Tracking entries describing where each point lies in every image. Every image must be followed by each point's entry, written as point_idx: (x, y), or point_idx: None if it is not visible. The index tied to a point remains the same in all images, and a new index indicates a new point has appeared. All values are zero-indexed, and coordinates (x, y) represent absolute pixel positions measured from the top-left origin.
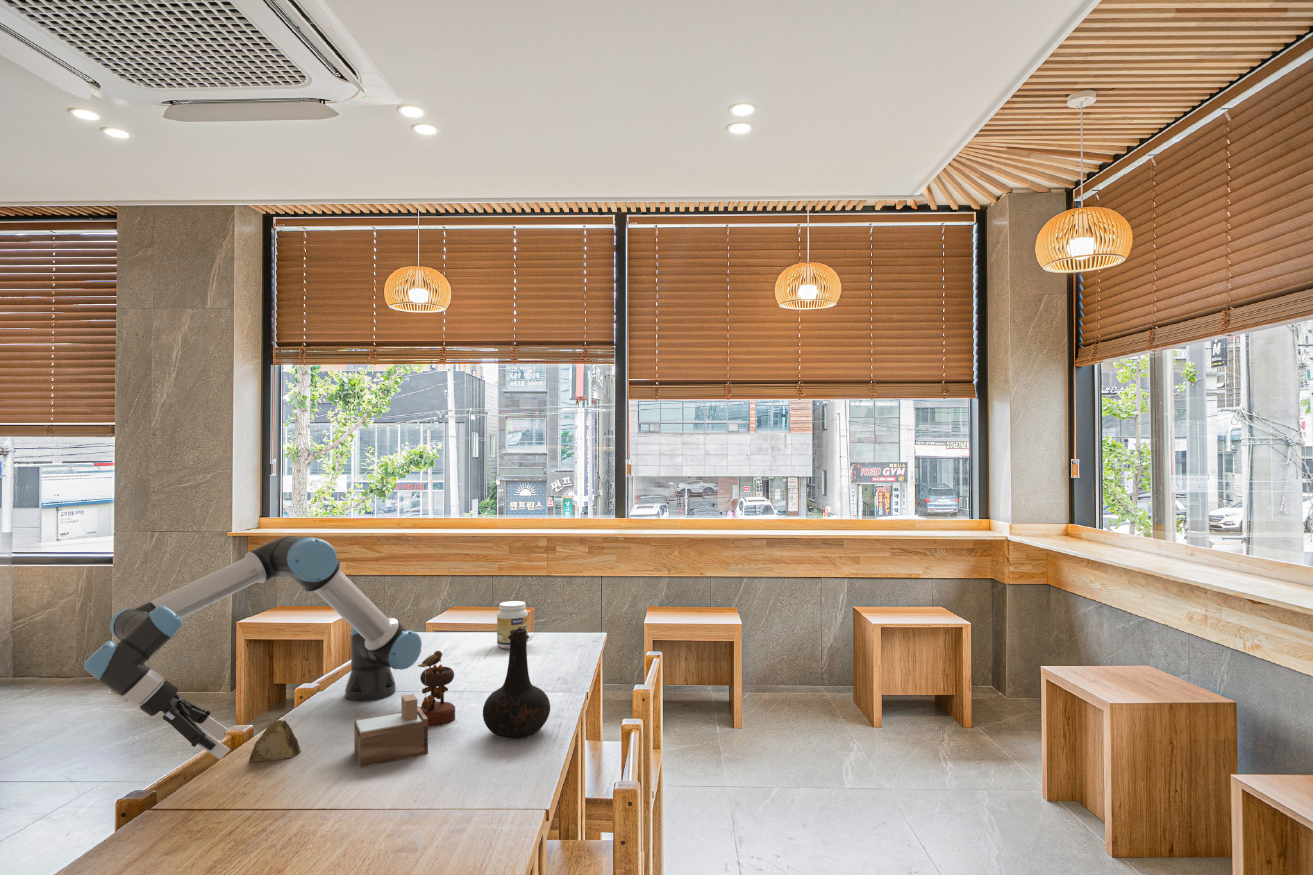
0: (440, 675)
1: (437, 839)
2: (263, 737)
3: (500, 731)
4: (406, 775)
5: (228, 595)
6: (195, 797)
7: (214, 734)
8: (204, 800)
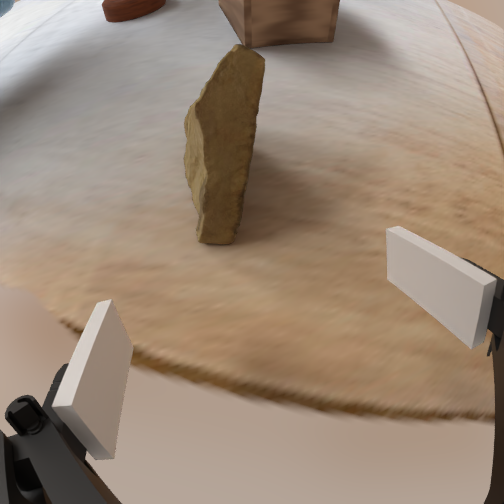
0: None
1: (496, 41)
2: (250, 138)
3: None
4: (368, 17)
5: None
6: None
7: (124, 375)
8: None
